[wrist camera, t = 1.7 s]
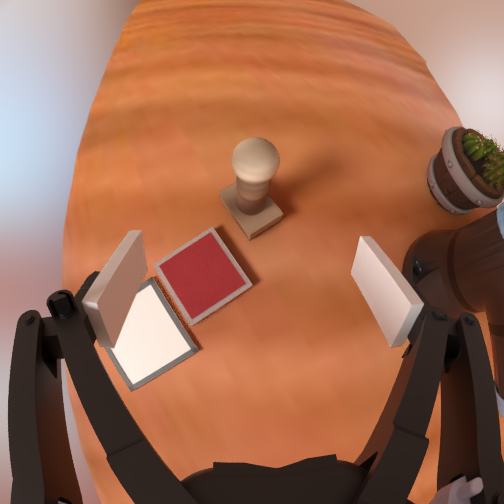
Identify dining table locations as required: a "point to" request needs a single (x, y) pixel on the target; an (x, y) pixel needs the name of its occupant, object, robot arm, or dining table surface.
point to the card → (150, 338)
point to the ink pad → (202, 276)
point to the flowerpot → (466, 172)
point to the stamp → (253, 186)
